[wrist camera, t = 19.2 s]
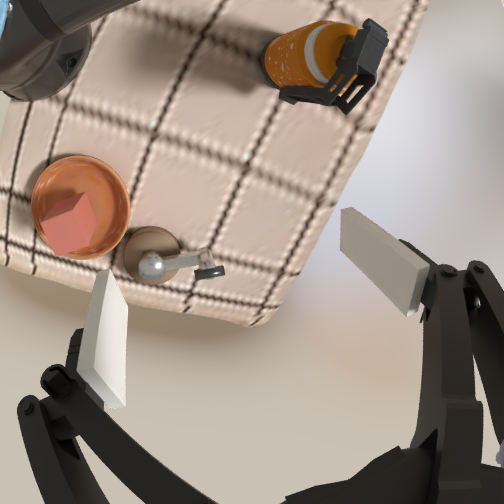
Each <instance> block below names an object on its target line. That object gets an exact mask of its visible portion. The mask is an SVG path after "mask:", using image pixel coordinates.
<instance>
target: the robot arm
mask: <svg viewBox="0 0 504 504" xmlns="http://www.w3.org/2000/svg"><path fill="white" fill-rule="evenodd" d="M137 1H140V0H0V91H3V92H4V93H5V94H6V95H7V96H9V97H10V98H12V99H15V100H18V101H37V100H42V99H45V98H48V97H50V96H52V95H54V94H56V93H58V92H59V91H61V90H62V89H63V88H65V87H66V86H67V85H68V84H69V83H70V82H71V81H72V80H73V79H74V78H75V77H76V75H77V74H78V73H79V71H80V70H81V68H82V66H83V65H84V63H85V61H86V59H87V56H88V54H89V51H90V47H91V41H92V30H91V25H90V23H91V22H93V21H95V20H97V19H99V18H101V17H103V16H105V15H107V14H110V13H112V12H114V11H116V10H118V9H121V8H123V7H125V6H128V5H130V4H132V3H135V2H137ZM340 250H341V251H342V252H343V253H344V254H345V255H346V256H347V257H348V258H349V259H350V260H351V261H352V262H353V263H354V264H355V265H356V266H357V267H358V268H359V269H360V270H361V271H362V272H363V273H364V274H365V275H366V276H367V277H368V278H369V279H370V280H371V281H372V282H373V283H374V284H375V285H376V286H377V287H378V288H379V289H380V290H381V291H382V292H383V293H384V294H385V295H386V296H387V297H388V298H389V299H390V300H391V301H392V302H393V303H394V304H395V305H396V307H398V309H399V310H400V311H401V312H402V313H403V314H404V315H405V316H406V317H407V316H409V315H411V314H413V313H415V312H417V311H418V308H419V305H420V302H421V303H422V304H424V306H425V307H424V310H423V314H422V317H421V319H420V323H422V320H423V328H424V329H423V331H424V332H423V364H422V380H421V393H420V403H419V411H418V419H417V426H416V431H415V434H414V437H413V439H412V441H411V444H410V448H407V449H402V450H401V448H400V447H399V446H397V447H395V448H393V449H392V450H390V451H388V452H386V453H384V454H383V455H381V456H379V457H377V458H375V459H374V460H372V461H371V462H370V463H369V464H368V465H367V466H366V467H364V468H363V469H362V470H361V471H359V472H358V473H357V474H356V475H354V476H353V477H352V478H350V479H348V480H345V481H340V482H335V483H329V484H324V485H318V486H314V487H311V488H308V489H306V490H303V491H300V492H297V493H294V494H291V495H289V496H286V497H285V498H286V500H285V501H284V502H282V503H281V504H504V291H503V289H502V287H501V286H500V284H499V283H498V281H497V279H496V278H495V276H494V275H493V273H492V272H491V270H490V268H489V267H488V266H487V265H486V264H484V263H483V262H480V261H475V260H474V261H471V262H469V265H468V268H467V270H462V271H458V270H457V269H455V268H454V267H452V266H450V265H447V264H441V265H437V264H436V263H435V262H433V261H432V260H431V259H430V258H428V257H427V256H426V255H425V254H423V253H421V251H419V250H418V249H416V248H415V247H414V246H413V245H411V244H410V243H409V242H406V241H404V240H401V239H399V240H397V239H396V238H395V237H393V236H392V235H391V234H389V233H388V232H387V231H385V230H384V229H382V228H381V227H380V226H378V225H377V224H376V223H374V222H373V221H371V220H370V219H369V218H367V217H366V216H364V215H363V214H361V213H360V212H358V211H357V210H356V209H354V208H353V207H349V208H345V209H341V234H340ZM479 300H480V305H479ZM127 318H128V306H127V304H126V302H125V300H124V298H123V296H122V294H121V292H120V289H119V287H118V285H117V283H116V281H115V278H114V276H113V274H112V272H111V269H106V270H103V271H99V272H97V276H96V280H95V283H94V287H93V291H92V295H91V299H90V303H89V308H88V312H87V317H86V321H85V326H84V328H81V329H77V330H76V331H75V332H74V334H73V336H72V337H71V340H70V345H69V350H68V355H67V359H66V365H65V367H64V366H63V365H61V364H55V365H51V366H50V367H49V368H47V369H46V370H45V371H44V373H43V374H42V377H41V381H40V383H41V387H42V388H43V389H44V390H45V391H46V392H47V393H48V394H49V395H50V396H48V397H46V398H44V399H42V400H39V399H38V398H37V397H35V396H34V395H28V396H25V397H24V398H23V399H22V400H21V401H20V403H19V404H18V407H17V415H18V420H19V424H20V429H21V433H22V436H23V441H24V444H25V448H26V451H27V455H28V458H29V461H30V464H31V468H32V471H33V474H34V477H35V479H36V482H37V485H38V487H39V490H40V493H41V495H42V498H43V500H44V502H45V504H110V503H109V502H108V500H107V499H106V497H105V495H104V493H103V492H102V490H101V488H100V486H99V485H98V483H97V481H96V479H95V477H94V475H93V473H92V471H91V470H90V468H89V466H88V464H87V462H86V460H85V458H84V455H83V453H82V452H81V449H80V447H79V445H78V442H77V440H76V438H75V437H76V436H78V435H80V436H81V437H82V438H83V440H84V441H85V442H86V443H87V444H88V446H89V447H90V448H91V449H92V450H93V452H94V453H95V454H96V455H97V456H98V457H99V458H100V459H101V461H102V462H103V463H104V464H105V465H106V466H107V467H108V468H109V469H110V470H111V471H112V472H113V473H114V474H115V475H116V476H117V477H118V478H119V479H120V480H121V481H122V482H123V483H124V484H125V485H126V486H127V487H128V488H129V489H130V490H131V491H132V492H133V493H134V494H135V495H136V496H137V497H139V498H140V499H141V500H142V501H143V502H144V503H145V504H218V503H217V502H215V501H214V500H212V499H210V498H209V497H207V496H206V495H204V494H203V493H201V492H200V491H198V490H197V489H195V488H194V487H193V486H191V485H190V484H188V483H187V482H185V481H184V480H183V479H181V478H180V477H179V476H177V475H176V474H174V473H173V472H172V471H171V470H169V469H168V468H167V467H166V466H164V465H163V464H162V463H161V462H159V461H158V460H157V459H156V458H154V457H153V456H152V455H151V454H150V453H148V452H147V451H146V450H145V449H144V448H143V447H142V446H140V445H139V444H138V443H137V442H136V441H135V440H134V439H133V438H132V437H130V436H129V435H128V434H127V433H126V432H125V431H124V430H123V429H122V428H121V427H120V426H119V425H118V424H117V423H116V422H115V421H114V420H113V419H112V418H111V417H110V416H109V415H108V414H107V413H106V412H105V411H104V403H105V404H106V405H107V406H108V407H109V408H110V409H113V408H120V407H125V406H126V398H125V397H126V393H125V368H126V335H127V334H126V333H127ZM473 355H474V358H475V361H476V364H477V367H478V371H479V374H480V377H481V380H482V384H483V387H484V390H485V394H486V398H487V402H488V406H489V410H490V414H491V419H492V423H493V426H494V431H495V434H496V437H497V439H498V442H499V444H500V451H499V452H498V453H497V455H496V461H497V463H498V464H501V467H495V466H491V465H486V464H482V463H481V459H482V445H483V444H482V443H483V404H482V402H481V401H477V400H476V397H475V377H474V362H473Z"/></svg>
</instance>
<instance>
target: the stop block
mask: <svg viewBox="0 0 504 504" xmlns="http://www.w3.org/2000/svg"><path fill="white" fill-rule="evenodd" d="M40 224H41V226H42V228H43V231H44V233H45V235H46V237H47V239H48V241H49V244H50V246H51V248H52V250H53V252H54V254H55V256H56V257H58V256H61V255H64V254H66V253H69V252H72V251H75V250H78V249H81V248H83V247H86V246H88V245H89V242H90V240H91V237H92V235H93V232H94V230H95V227H96V225H97V221H96V218H95V215H94V213H93V210H92V208H91V205H90V202H89V199H88V197H87V194H86V191H85V192H82V193H80V194H77V195H74V196H72V197H69V198H67V199H64V200H62V201H60V202H57V203H56V204H55V205H54V206H53V207H52V209H51V210H50V211H49V212H48V214H47V215H46V216H45V217H44V219H43V220H42V221H41V223H40Z"/></svg>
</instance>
